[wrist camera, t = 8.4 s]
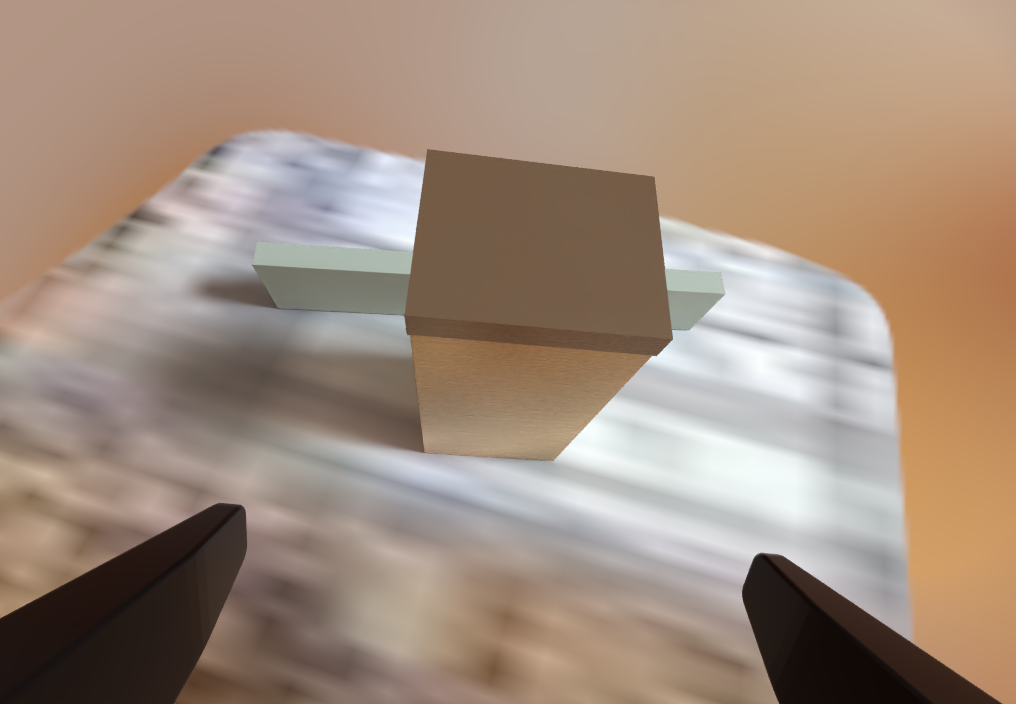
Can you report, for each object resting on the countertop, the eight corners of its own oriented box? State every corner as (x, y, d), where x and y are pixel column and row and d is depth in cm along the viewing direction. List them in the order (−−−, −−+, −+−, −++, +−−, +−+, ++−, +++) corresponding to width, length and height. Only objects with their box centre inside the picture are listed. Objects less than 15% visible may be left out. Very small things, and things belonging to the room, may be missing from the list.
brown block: (423, 454, 19) (404, 315, 9) (433, 355, 21) (427, 147, 11) (554, 462, 20) (672, 339, 10) (554, 365, 21) (653, 175, 11)
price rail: (278, 308, 21) (252, 264, 18) (283, 284, 21) (258, 237, 19) (689, 330, 23) (725, 293, 20) (685, 307, 23) (720, 268, 21)
